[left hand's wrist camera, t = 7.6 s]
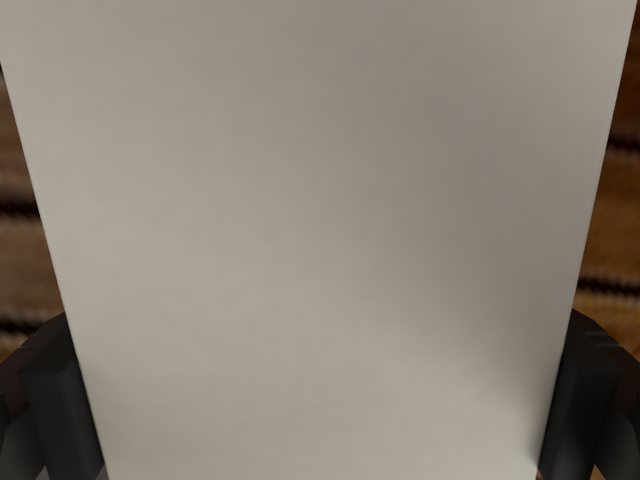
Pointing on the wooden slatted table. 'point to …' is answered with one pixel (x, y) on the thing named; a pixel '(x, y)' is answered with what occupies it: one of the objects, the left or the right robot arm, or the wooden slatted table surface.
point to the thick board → (316, 223)
